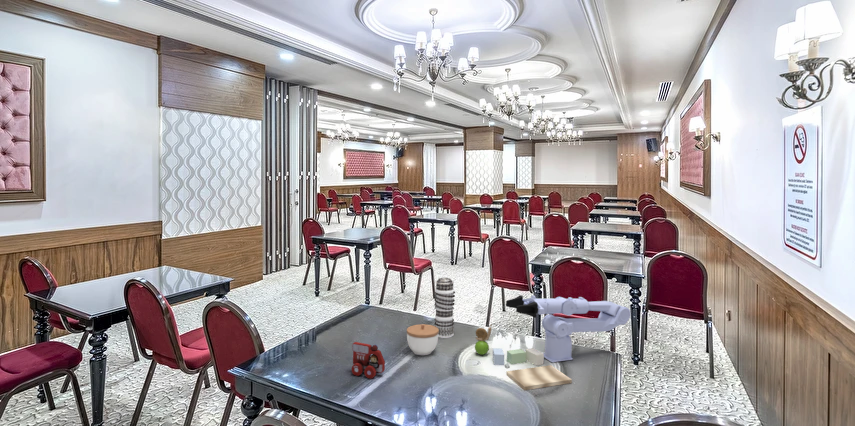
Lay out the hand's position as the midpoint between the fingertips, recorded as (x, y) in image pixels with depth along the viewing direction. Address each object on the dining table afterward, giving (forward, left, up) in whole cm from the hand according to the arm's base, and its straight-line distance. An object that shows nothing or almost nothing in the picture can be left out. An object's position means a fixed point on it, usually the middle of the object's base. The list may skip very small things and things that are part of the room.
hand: (511, 306), depth 157 cm
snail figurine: (+6, -11, -22) cm, 25 cm away
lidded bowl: (+28, -20, -22) cm, 41 cm away
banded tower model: (+13, -36, -22) cm, 44 cm away
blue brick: (+3, -3, -22) cm, 22 cm away
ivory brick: (-10, +1, -22) cm, 24 cm away
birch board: (-3, +14, -22) cm, 26 cm away
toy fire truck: (+52, -7, -22) cm, 57 cm away
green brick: (-3, -1, -22) cm, 22 cm away
